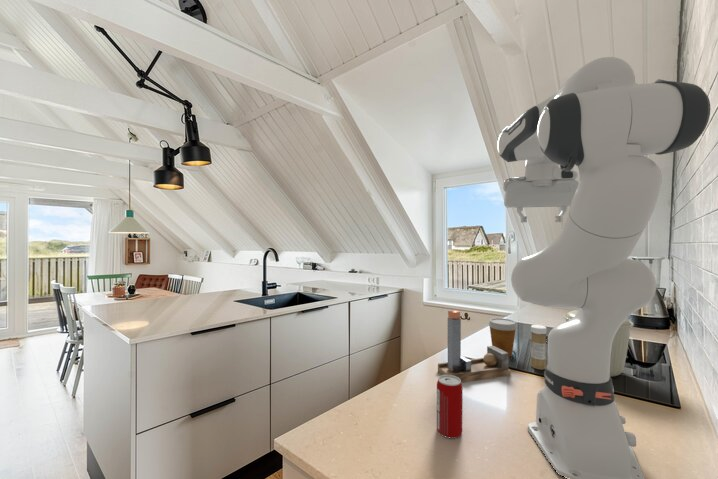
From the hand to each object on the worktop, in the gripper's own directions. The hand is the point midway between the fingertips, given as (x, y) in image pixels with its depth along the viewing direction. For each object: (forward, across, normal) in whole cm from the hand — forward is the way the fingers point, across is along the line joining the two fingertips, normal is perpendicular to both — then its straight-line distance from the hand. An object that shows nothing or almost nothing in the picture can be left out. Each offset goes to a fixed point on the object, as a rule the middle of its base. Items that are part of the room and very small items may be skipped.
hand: (541, 222), depth 99 cm
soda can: (+47, -26, -36) cm, 64 cm away
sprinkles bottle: (+47, +2, +9) cm, 48 cm away
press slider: (+45, -24, -5) cm, 51 cm away
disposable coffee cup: (+47, -8, +18) cm, 51 cm away
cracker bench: (+47, -19, -2) cm, 51 cm away
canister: (+47, +18, +12) cm, 52 cm away
